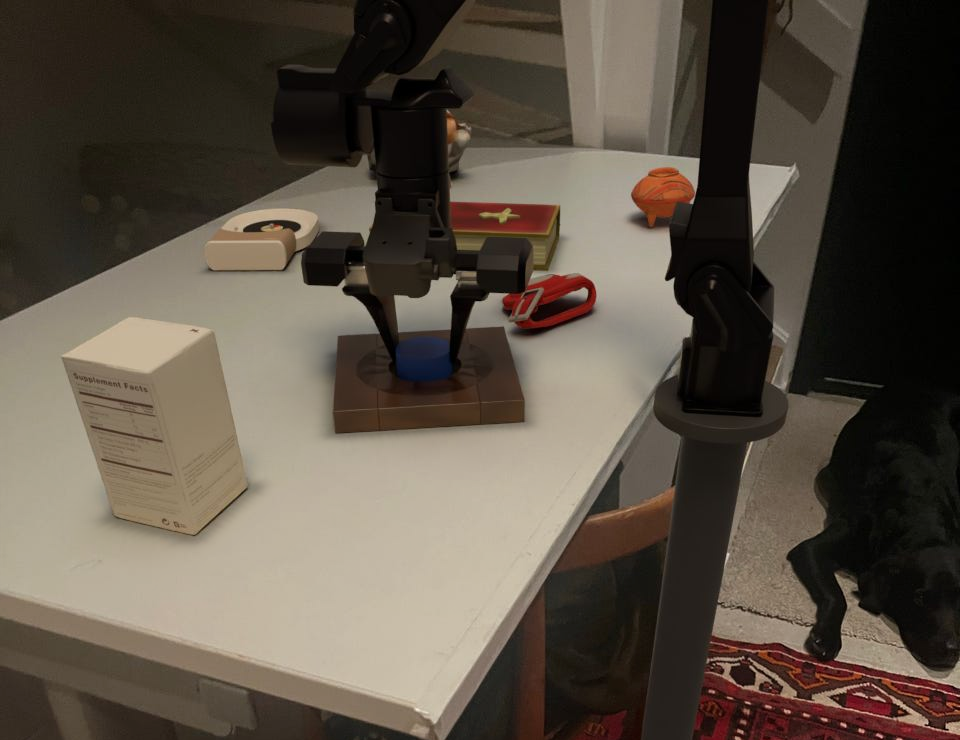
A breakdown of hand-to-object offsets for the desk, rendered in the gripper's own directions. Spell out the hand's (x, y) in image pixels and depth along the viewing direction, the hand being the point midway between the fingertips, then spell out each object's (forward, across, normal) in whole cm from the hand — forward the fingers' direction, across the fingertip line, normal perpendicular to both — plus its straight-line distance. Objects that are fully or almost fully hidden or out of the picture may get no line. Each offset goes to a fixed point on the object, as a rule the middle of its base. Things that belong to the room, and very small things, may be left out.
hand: (424, 360), depth 83 cm
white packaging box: (+3, -14, -22) cm, 26 cm away
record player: (+3, -29, +38) cm, 47 cm away
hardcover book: (+3, -3, +38) cm, 38 cm away
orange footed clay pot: (+6, +6, +43) cm, 44 cm away
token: (+1, 0, 0) cm, 1 cm away
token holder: (+2, 0, 0) cm, 2 cm away
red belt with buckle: (+3, +8, +18) cm, 20 cm away
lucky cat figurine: (+3, -16, +70) cm, 72 cm away
